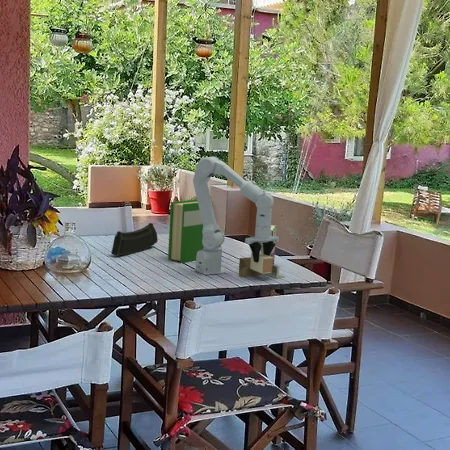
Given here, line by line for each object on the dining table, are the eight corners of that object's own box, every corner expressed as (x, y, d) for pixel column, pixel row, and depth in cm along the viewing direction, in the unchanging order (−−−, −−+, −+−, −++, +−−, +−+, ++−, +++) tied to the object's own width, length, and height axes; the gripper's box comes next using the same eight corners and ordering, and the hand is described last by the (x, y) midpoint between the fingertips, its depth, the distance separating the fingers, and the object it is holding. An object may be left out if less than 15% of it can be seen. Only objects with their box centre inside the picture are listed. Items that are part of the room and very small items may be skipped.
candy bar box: (262, 263, 284) (265, 224, 282) (274, 264, 283) (277, 225, 281) (258, 268, 274) (261, 228, 271) (270, 270, 273) (273, 229, 270)
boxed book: (262, 273, 253) (264, 258, 252) (249, 268, 259) (251, 253, 258) (271, 272, 255) (272, 257, 254) (258, 267, 262) (259, 252, 261)
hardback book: (181, 263, 275) (184, 204, 271) (167, 260, 279) (170, 202, 275) (208, 257, 289) (212, 201, 285) (195, 254, 293) (198, 199, 289)
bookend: (276, 278, 259) (277, 266, 259) (265, 274, 265) (265, 262, 264) (284, 277, 262) (285, 265, 261) (273, 273, 267) (273, 262, 266)
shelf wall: (240, 276, 258) (241, 258, 257) (238, 276, 259) (239, 258, 258) (269, 273, 266) (270, 256, 265) (267, 273, 267) (268, 255, 266)
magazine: (114, 237, 274) (154, 208, 298) (108, 236, 275) (148, 208, 299) (120, 274, 281) (158, 244, 305) (114, 273, 282) (152, 243, 306)
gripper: (254, 228, 247) (251, 265, 250) (285, 226, 256) (282, 262, 258) (242, 225, 253) (240, 261, 255) (273, 223, 261) (270, 258, 264)
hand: (260, 261), depth 257 cm, fingers closed on boxed book, 4 cm apart
